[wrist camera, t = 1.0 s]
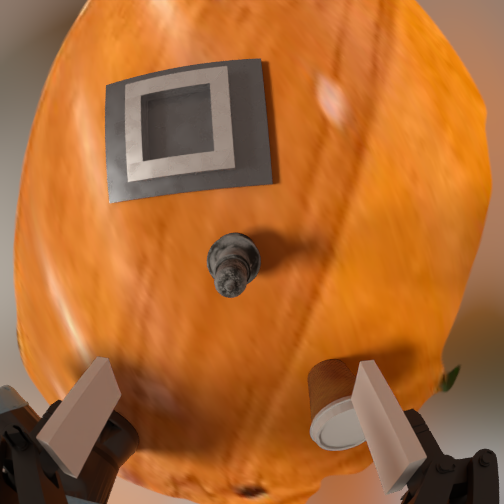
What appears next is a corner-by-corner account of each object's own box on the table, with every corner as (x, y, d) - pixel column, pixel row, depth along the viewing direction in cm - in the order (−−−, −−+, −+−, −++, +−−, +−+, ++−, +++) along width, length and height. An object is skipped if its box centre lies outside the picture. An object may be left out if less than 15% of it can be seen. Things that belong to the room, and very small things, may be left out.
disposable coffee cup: (286, 391, 39) (297, 450, 27) (315, 343, 37) (338, 399, 25) (337, 401, 40) (358, 453, 28) (367, 357, 38) (399, 406, 26)
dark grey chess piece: (201, 260, 34) (180, 297, 22) (228, 220, 33) (218, 238, 21) (241, 286, 35) (239, 334, 23) (268, 248, 34) (281, 280, 22)
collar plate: (113, 202, 32) (100, 204, 28) (109, 87, 28) (97, 79, 25) (271, 184, 32) (274, 183, 29) (260, 61, 28) (262, 49, 25)
